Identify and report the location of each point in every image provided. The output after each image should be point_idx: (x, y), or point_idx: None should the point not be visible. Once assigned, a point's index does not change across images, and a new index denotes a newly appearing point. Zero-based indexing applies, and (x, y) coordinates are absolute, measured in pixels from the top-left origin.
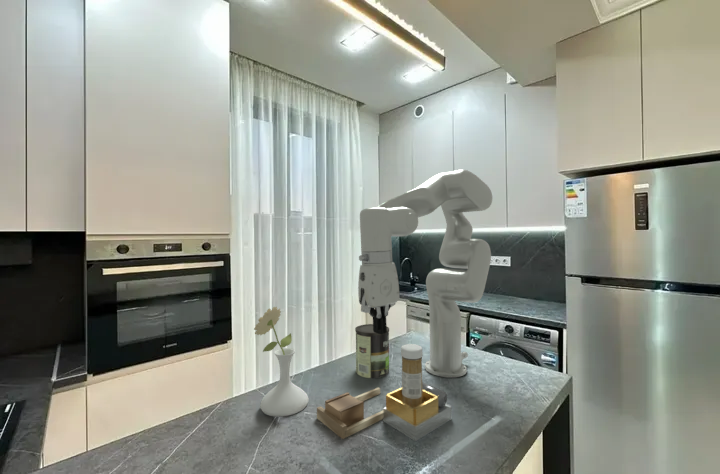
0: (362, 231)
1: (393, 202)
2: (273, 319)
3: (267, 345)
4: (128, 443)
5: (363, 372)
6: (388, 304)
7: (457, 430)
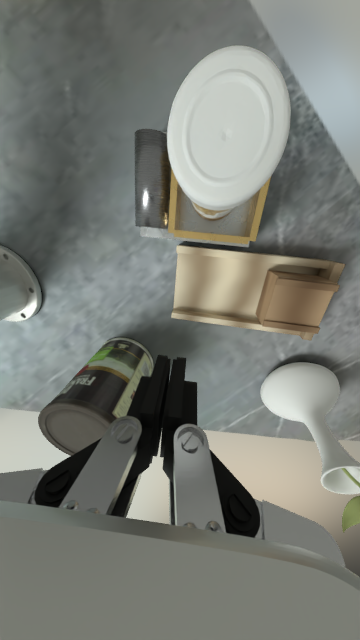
0: None
1: None
2: None
3: None
4: None
5: (148, 368)
6: (93, 514)
7: (160, 123)
